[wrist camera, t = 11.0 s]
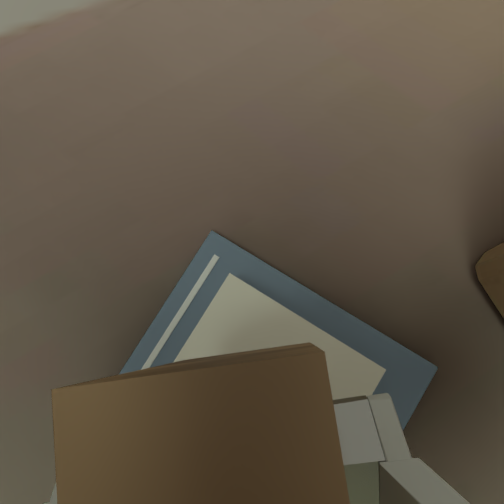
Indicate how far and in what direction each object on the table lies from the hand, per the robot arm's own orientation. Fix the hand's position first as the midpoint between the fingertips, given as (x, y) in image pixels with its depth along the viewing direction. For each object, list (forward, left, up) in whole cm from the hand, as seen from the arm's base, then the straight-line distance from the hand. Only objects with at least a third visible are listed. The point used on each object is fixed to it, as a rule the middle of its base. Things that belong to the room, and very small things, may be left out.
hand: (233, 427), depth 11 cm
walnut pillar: (0, 0, -5) cm, 5 cm away
